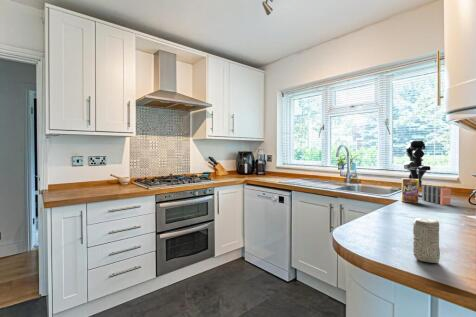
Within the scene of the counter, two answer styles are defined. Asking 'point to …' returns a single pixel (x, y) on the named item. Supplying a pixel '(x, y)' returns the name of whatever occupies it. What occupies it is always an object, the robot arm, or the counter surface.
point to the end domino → (445, 197)
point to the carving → (426, 240)
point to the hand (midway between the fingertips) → (416, 179)
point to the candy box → (410, 190)
